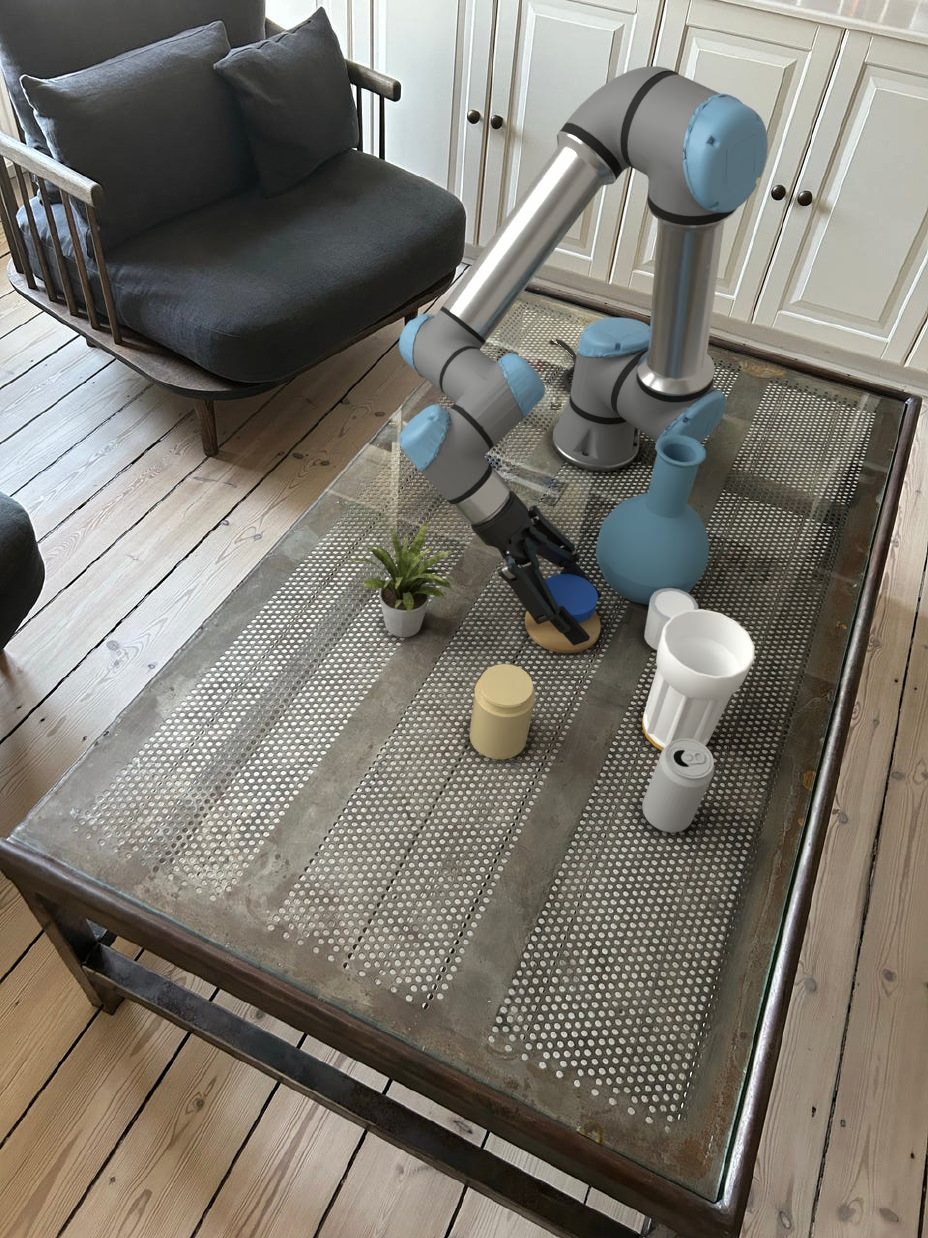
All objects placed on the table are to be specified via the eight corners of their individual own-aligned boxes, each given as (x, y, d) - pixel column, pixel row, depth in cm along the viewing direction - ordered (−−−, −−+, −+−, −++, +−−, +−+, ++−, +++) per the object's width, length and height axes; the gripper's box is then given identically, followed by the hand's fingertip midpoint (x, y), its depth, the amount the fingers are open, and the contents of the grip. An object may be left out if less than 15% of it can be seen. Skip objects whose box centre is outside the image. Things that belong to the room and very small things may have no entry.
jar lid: (607, 607, 140) (610, 597, 139) (568, 633, 136) (570, 623, 134) (566, 575, 144) (568, 565, 142) (526, 599, 140) (528, 589, 138)
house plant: (370, 679, 134) (371, 595, 122) (331, 611, 142) (329, 526, 130) (463, 647, 139) (473, 563, 127) (421, 583, 147) (426, 499, 135)
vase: (708, 566, 154) (754, 435, 136) (679, 635, 143) (725, 503, 125) (609, 531, 158) (641, 400, 140) (574, 596, 147) (603, 462, 129)
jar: (460, 721, 130) (466, 669, 122) (512, 706, 132) (521, 654, 124) (483, 766, 125) (490, 715, 117) (536, 750, 128) (547, 699, 120)
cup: (630, 692, 135) (657, 605, 123) (711, 698, 136) (747, 612, 123) (637, 760, 128) (667, 674, 115) (723, 766, 128) (763, 681, 115)
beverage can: (636, 792, 124) (656, 735, 115) (685, 790, 125) (709, 734, 116) (646, 836, 120) (668, 781, 111) (697, 835, 121) (723, 779, 112)
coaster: (512, 607, 145) (513, 604, 144) (578, 591, 148) (579, 587, 148) (545, 661, 138) (545, 657, 137) (613, 642, 142) (614, 638, 141)
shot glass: (690, 628, 145) (702, 595, 139) (682, 661, 140) (694, 628, 135) (645, 615, 146) (655, 581, 141) (635, 647, 141) (645, 613, 136)
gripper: (489, 472, 141) (581, 579, 150) (447, 568, 127) (551, 679, 136) (530, 451, 136) (622, 563, 146) (490, 547, 122) (595, 664, 132)
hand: (587, 619), depth 141 cm, fingers closed on jar lid, 8 cm apart
